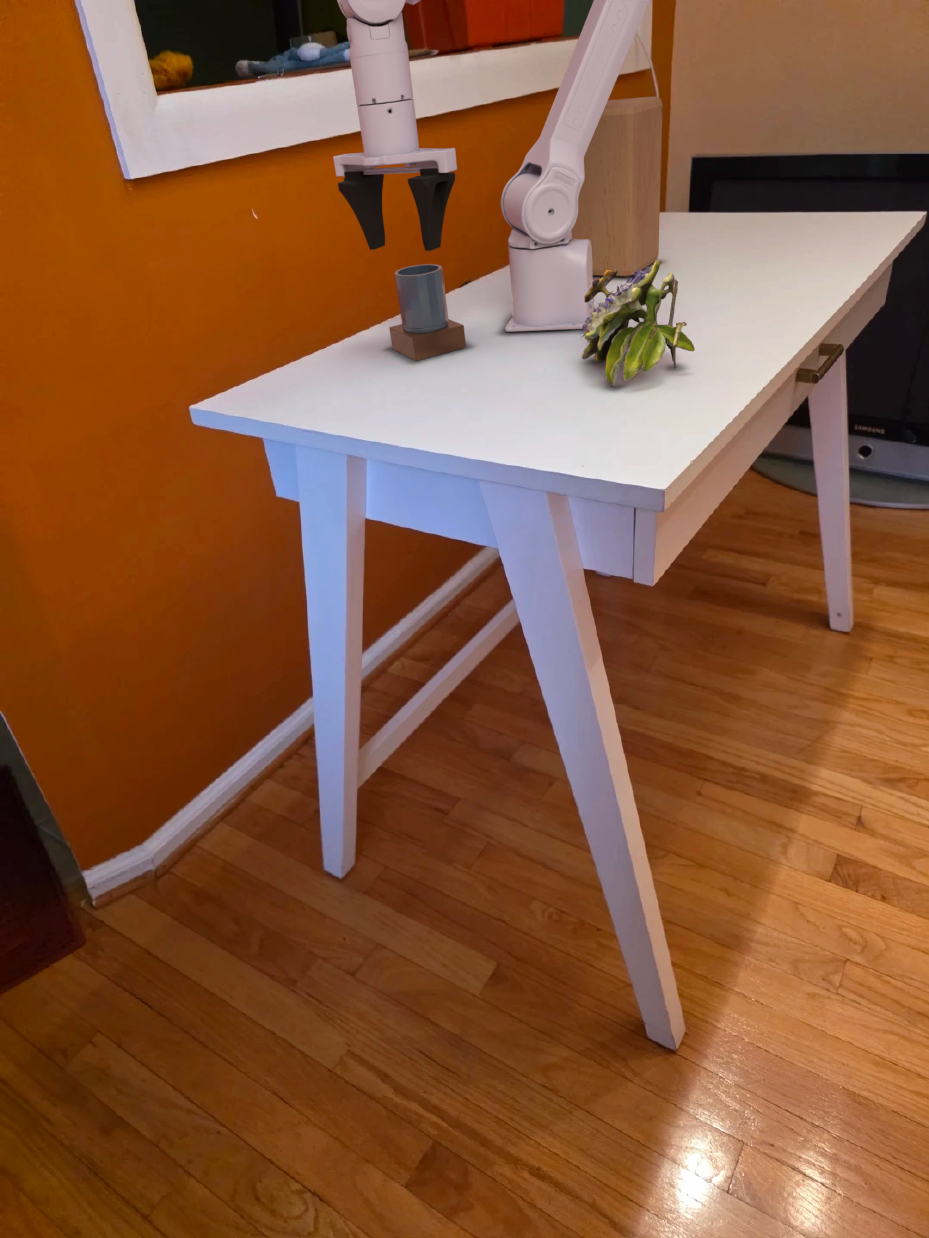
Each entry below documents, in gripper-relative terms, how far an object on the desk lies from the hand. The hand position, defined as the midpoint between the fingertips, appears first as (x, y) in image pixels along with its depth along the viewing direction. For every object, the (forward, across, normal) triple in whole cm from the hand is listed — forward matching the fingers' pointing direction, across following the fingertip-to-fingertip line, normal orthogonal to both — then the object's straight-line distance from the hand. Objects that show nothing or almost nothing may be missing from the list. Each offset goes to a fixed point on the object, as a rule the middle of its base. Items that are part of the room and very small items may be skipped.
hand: (404, 248), depth 89 cm
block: (+10, +2, -1) cm, 11 cm away
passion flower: (+10, +28, -1) cm, 30 cm away
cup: (+8, +2, -1) cm, 8 cm away
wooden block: (+10, +8, +37) cm, 39 cm away
